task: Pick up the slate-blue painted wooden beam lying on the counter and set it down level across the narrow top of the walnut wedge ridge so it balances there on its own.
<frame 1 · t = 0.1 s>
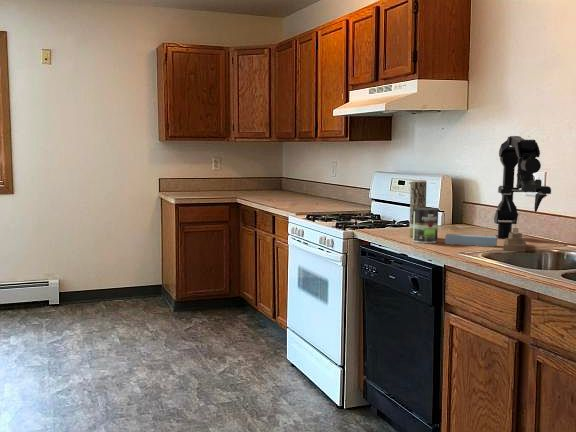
hand: (523, 211, 247), 15 cm above the countertop, fingers open, 9 cm apart
beam: (470, 245, 259), on the countertop
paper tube: (417, 237, 279), on the countertop
coffee can: (425, 242, 267), on the countertop
ridge stand: (514, 247, 253), on the countertop
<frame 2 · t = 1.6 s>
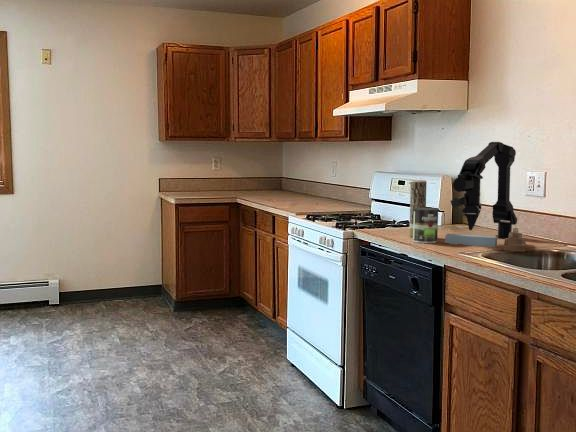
hand: (471, 228, 258), 7 cm above the countertop, fingers open, 9 cm apart
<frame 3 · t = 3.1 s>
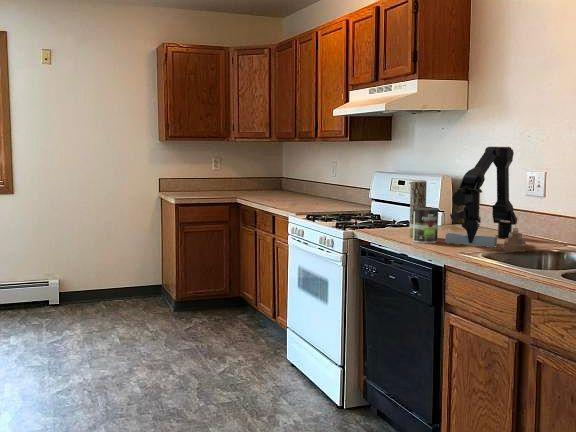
hand: (470, 242, 258), 1 cm above the countertop, fingers closed on beam, 4 cm apart
beam: (470, 245, 259), on the countertop, touching gripper
everything else where it was.
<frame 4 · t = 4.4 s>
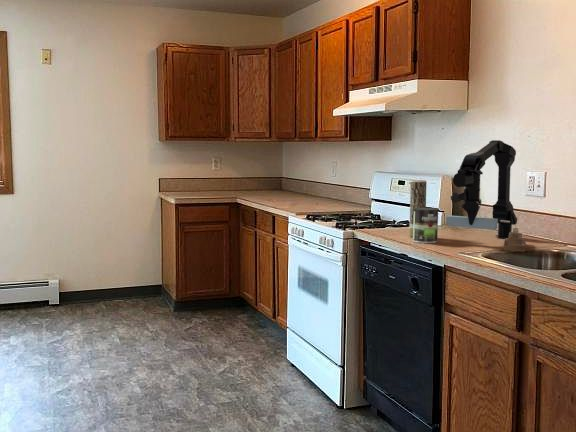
hand: (471, 224, 257), 8 cm above the countertop, fingers closed on beam, 4 cm apart
beam: (471, 227, 258), point 7 cm above the countertop, touching gripper
everything else where it was.
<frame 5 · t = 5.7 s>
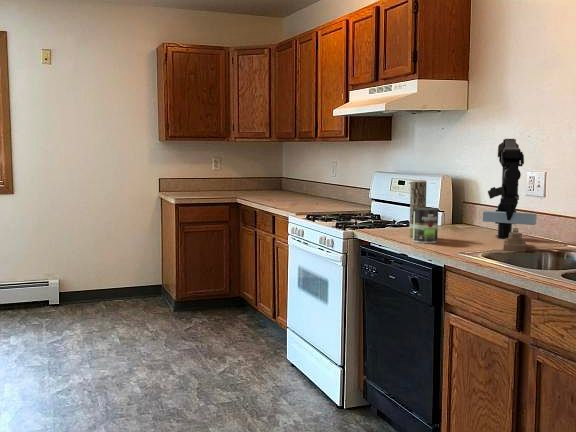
hand: (509, 219, 252), 11 cm above the countertop, fingers closed on beam, 4 cm apart
beam: (508, 222, 252), point 10 cm above the countertop, touching gripper
everything else where it was.
when the fingers open (8 cm above the countertop, at t = 7.4 s): beam stays where it is, resting on ridge stand.
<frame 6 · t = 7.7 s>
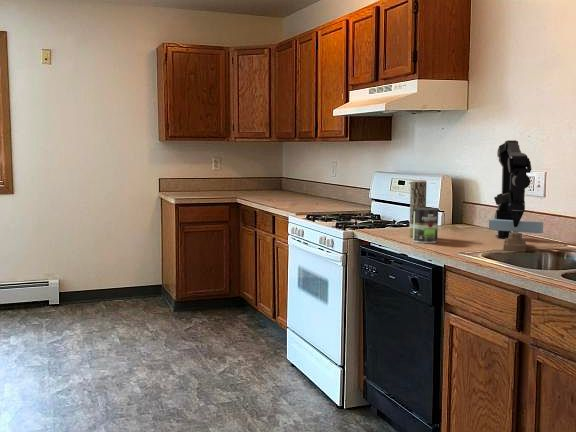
hand: (515, 226, 252), 8 cm above the countertop, fingers open, 6 cm apart
beam: (515, 231, 252), point 6 cm above the countertop, touching ridge stand
everything else where it was.
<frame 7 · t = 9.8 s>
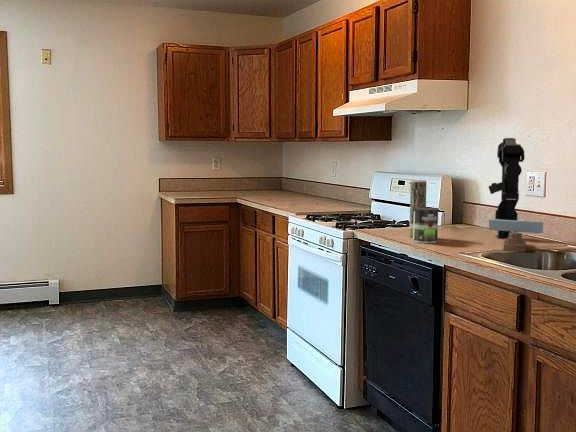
hand: (509, 214, 254), 13 cm above the countertop, fingers open, 9 cm apart
nothing on the countertop moved.
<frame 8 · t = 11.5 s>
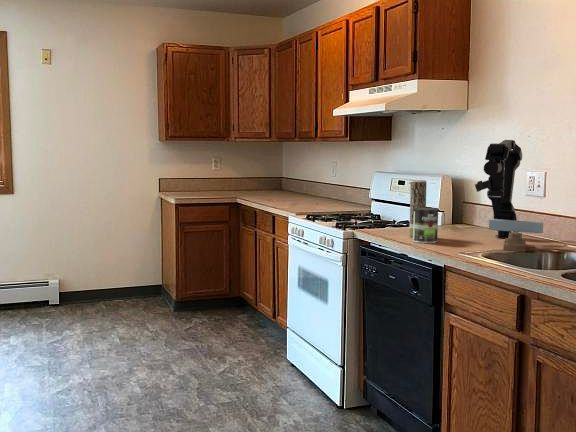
hand: (495, 212, 261), 13 cm above the countertop, fingers open, 9 cm apart
nothing on the countertop moved.
at the end: beam inside the target area on the ridge stand (0.1 cm from its centre), point 6.5 cm above the ridge stand's base; beam tilted 0°; beam touching ridge stand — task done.
